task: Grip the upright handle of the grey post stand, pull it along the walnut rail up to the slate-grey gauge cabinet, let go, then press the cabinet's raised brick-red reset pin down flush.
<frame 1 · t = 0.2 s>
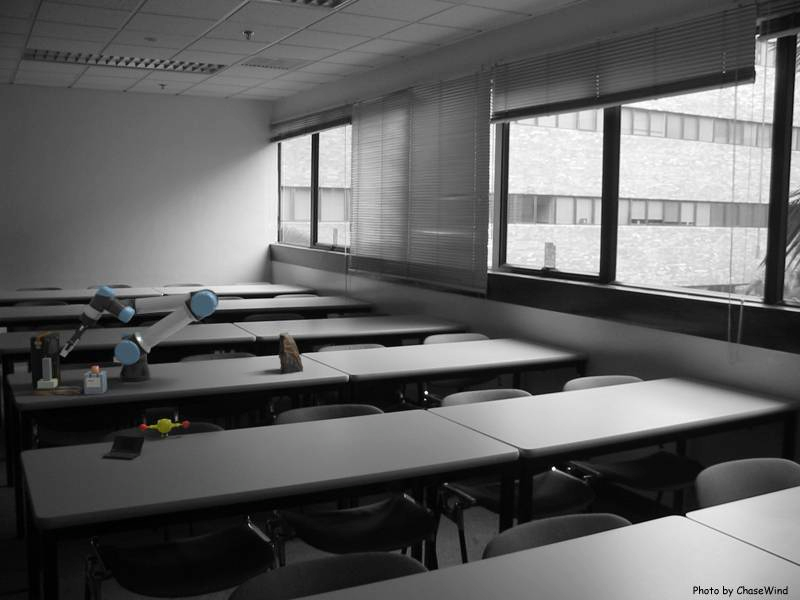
hand: (65, 352, 370), 16 cm above the table, tool tilted 35°, fingers open, 13 cm apart
grey post stand: (47, 372, 356), point 9 cm above the table, slide at 0.0 cm
gauge cabinet: (96, 392, 360), on the table
black laptop: (124, 456, 269), on the table
reset pin: (95, 371, 359), point 9 cm above the table, slide at 0.0 cm
rail bed: (58, 392, 358), on the table
black upright box: (46, 386, 371), on the table
toy figure: (164, 437, 291), on the table
brown rock: (290, 371, 412), on the table
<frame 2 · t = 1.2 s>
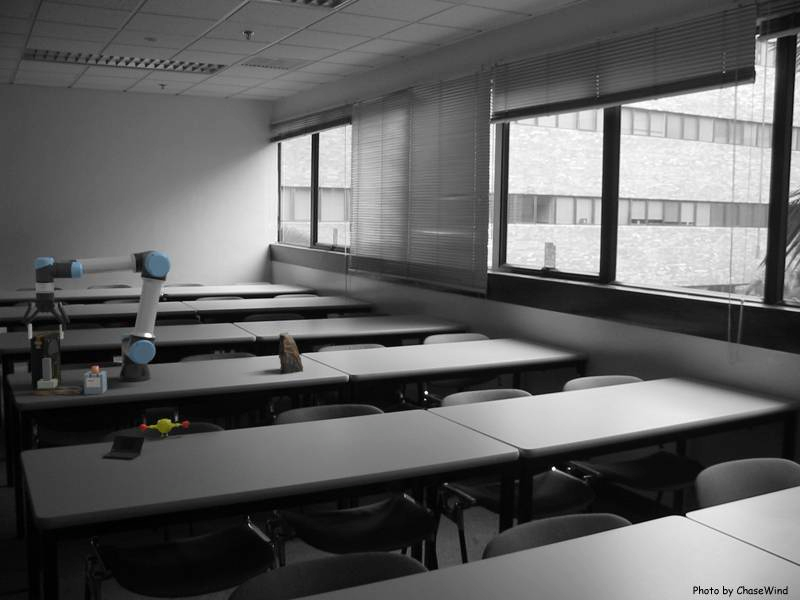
hand: (46, 338, 355), 25 cm above the table, tool pointing down, fingers open, 13 cm apart
nothing on the table moved.
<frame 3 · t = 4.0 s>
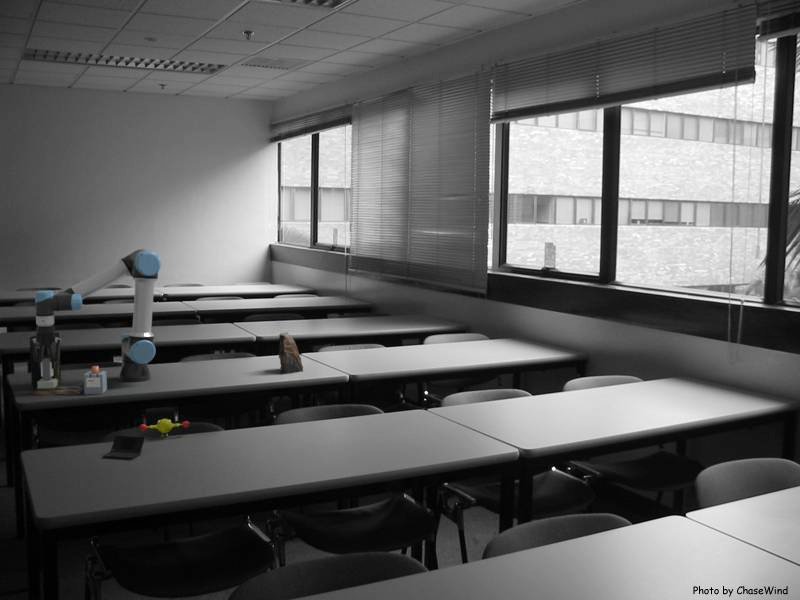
hand: (47, 375, 356), 8 cm above the table, tool pointing down, fingers closed on grey post stand, 3 cm apart
grey post stand: (47, 372, 356), point 9 cm above the table, slide at 0.0 cm, touching gripper
everything else where it was.
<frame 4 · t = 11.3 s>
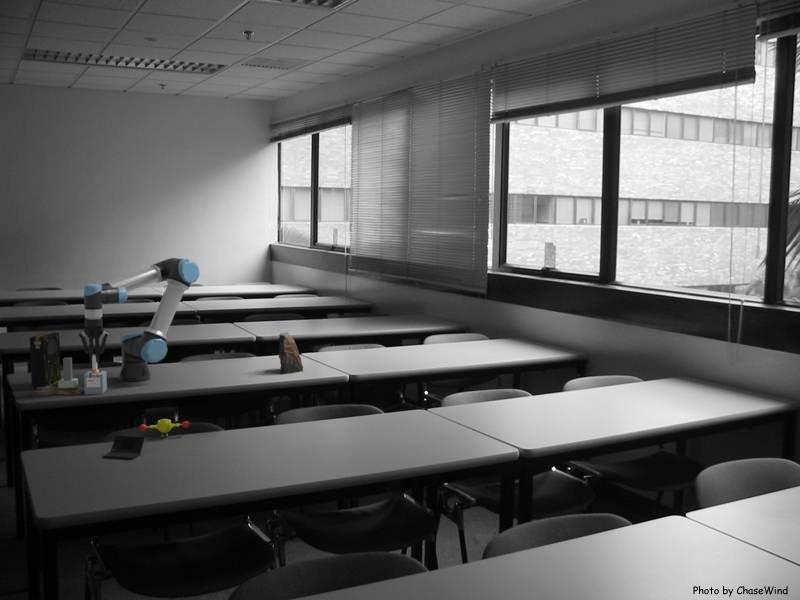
hand: (94, 369, 359), 11 cm above the table, tool pointing down, fingers closed
grey post stand: (67, 372, 357), point 9 cm above the table, slide at 9.0 cm
reset pin: (95, 374, 359), point 8 cm above the table, slide at 1.4 cm, touching gripper
everything else where it was.
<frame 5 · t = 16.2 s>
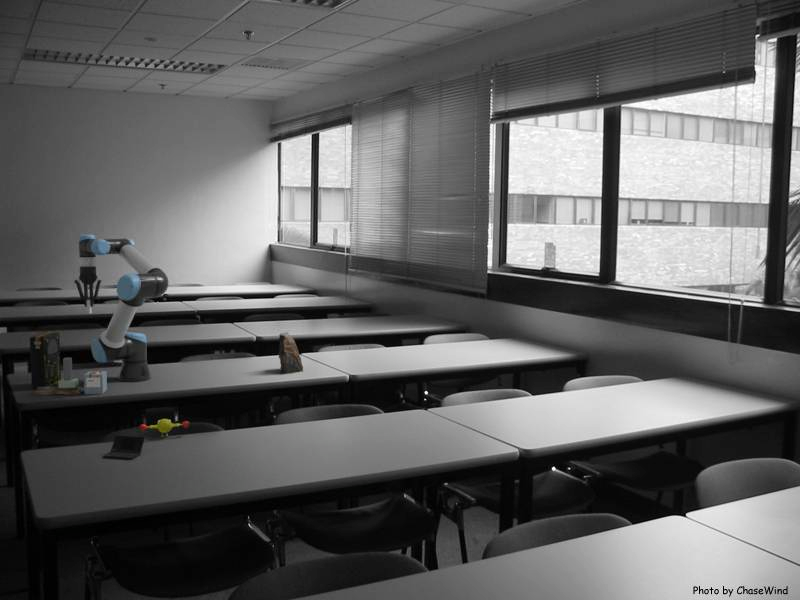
hand: (89, 313, 388), 32 cm above the table, tool pointing down, fingers closed
reset pin: (95, 377, 359), point 7 cm above the table, slide at 2.5 cm
everything else where it was.
at the end: grey post stand slide at 9.0 cm; reset pin slide at 2.5 cm; black upright box moved 0.2 cm from its start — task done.
